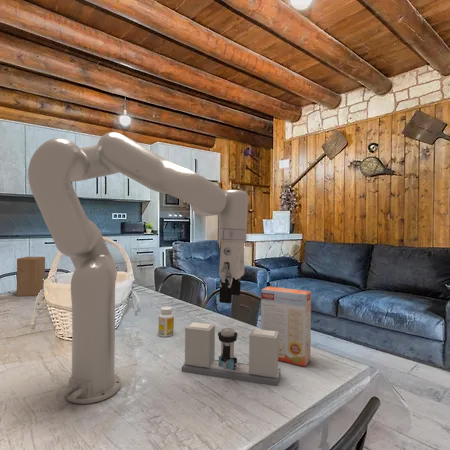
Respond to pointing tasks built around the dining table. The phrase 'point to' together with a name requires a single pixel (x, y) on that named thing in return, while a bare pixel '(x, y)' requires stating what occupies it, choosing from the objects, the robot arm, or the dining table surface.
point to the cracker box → (288, 322)
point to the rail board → (253, 372)
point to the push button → (228, 349)
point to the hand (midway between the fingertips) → (230, 298)
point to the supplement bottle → (166, 322)
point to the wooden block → (30, 275)
